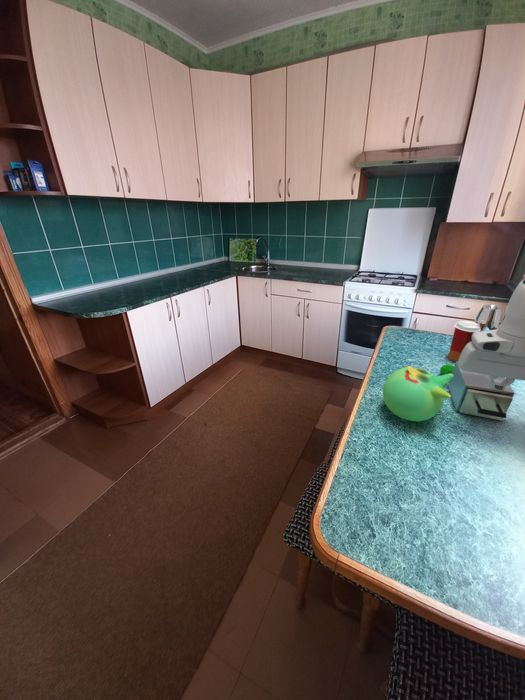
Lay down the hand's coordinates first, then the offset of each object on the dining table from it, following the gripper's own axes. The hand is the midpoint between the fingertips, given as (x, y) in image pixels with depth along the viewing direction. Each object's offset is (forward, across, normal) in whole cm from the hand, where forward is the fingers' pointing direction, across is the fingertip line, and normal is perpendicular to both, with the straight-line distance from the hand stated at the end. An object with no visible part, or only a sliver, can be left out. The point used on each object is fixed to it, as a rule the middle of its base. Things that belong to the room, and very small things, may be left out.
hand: (495, 389), depth 77 cm
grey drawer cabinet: (+12, 0, -11) cm, 16 cm away
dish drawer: (+11, 0, -6) cm, 13 cm away
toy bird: (+12, +19, +2) cm, 22 cm away
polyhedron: (+12, +5, -24) cm, 27 cm away
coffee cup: (+12, -1, -40) cm, 42 cm away
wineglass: (+12, -9, -48) cm, 50 cm away
